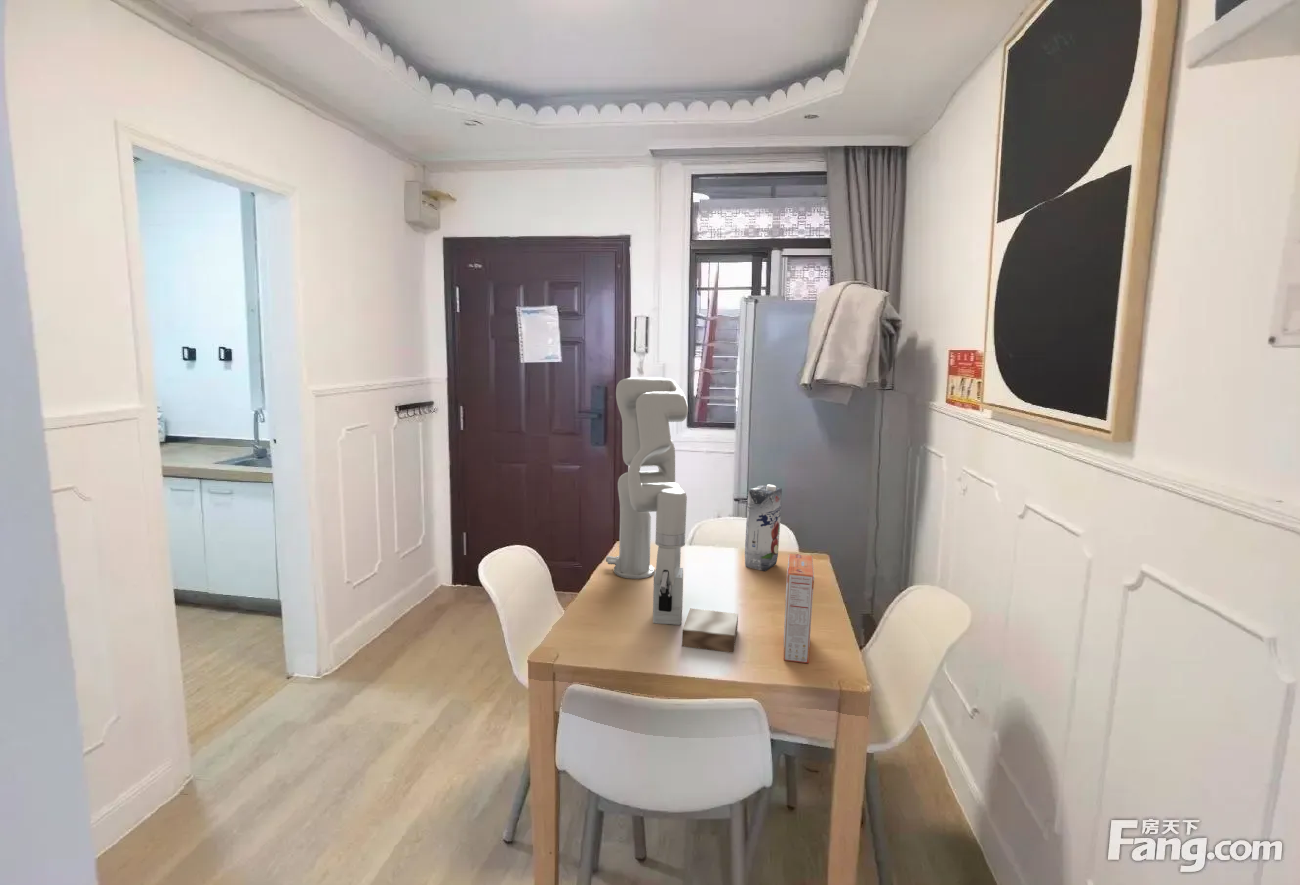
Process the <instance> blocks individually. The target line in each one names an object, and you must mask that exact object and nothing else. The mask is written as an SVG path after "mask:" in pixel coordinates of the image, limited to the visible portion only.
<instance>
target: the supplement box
mask: <svg viewBox="0 0 1300 885" xmlns="http://www.w3.org/2000/svg"><path fill="white" fill-rule="evenodd" d="M668 576H669V575H668ZM655 577H656V569H655V572H654V574H653V577H652V578H653V593H652V596H653V597H652V598H653V600H652V601H653V602H652V606H653V607H652V624H659V625H660V624H661V625H662V624H663V625H678V626H680V625H682V619H683V618H682V617H683V602H684V601H683V599H684V598H683V595H684V594H683V593H684V568H683V567H680V569H679V572H678V574H677V576H676V578H675V584H674V585H673V586H672V590H671V596H672V610H671V612H666V611H659V593H660V585H661V581H662V579H661V581H660V584H658V585H656V583H655ZM667 584H670V580H669V577H668V581H667ZM667 589H668V592H669V587H667Z"/></svg>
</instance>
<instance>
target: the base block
mask: <svg viewBox="0 0 1300 885" xmlns="http://www.w3.org/2000/svg"><path fill="white" fill-rule="evenodd" d="M738 622H739V613H735V612H734V613H732V612H726V611H718V610H717V611H715V610H709V609H698V608H689V611H688V613H687V615H686V618H685V621H684V624H683V627H682V635H681V637H682V638H681V647H686V648H694V649H699V650H700V649H702V650H709V651H717V652H723V653H724V652H725V653H732V654H734V652H735V646H736V640H737V635H738Z"/></svg>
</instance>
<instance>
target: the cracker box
mask: <svg viewBox="0 0 1300 885" xmlns="http://www.w3.org/2000/svg"><path fill="white" fill-rule="evenodd" d="M813 563H814V560H813V555H806V554H805V555H804V554H796V553H789V554H788V560H787V568H786V569H787V570H786V586H785V587H786V588H785V604H784V605H785V606H784V626H783V628H784V629H783V661H786V662H787V661H788V662H792V663H793V662H794V663H795V662H796V663H802V664H809V662H810V645H811V631H812V628H811V627H812V612H813V598H814V597H813V596H814V584H815V575H814V574H815V572H814V564H813Z"/></svg>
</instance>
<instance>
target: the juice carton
mask: <svg viewBox="0 0 1300 885" xmlns="http://www.w3.org/2000/svg"><path fill="white" fill-rule="evenodd" d="M782 492H783V489H782V488H780V487H777V486H776V485H774V484H767V485H762V484H760V485H758V486H756V487H754V488H749V489H748V492H747V505H746V507H747V508H746V523H745V541H744V542H745V544H744V566H745V567H746V568H749V569H753V570H758V571H761V572H767V571H768V570H769V569H771V568H772V567H774V566H775V565H777V562H778V557H779V546H780V532H781V529H780V528H781V512H782Z"/></svg>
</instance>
